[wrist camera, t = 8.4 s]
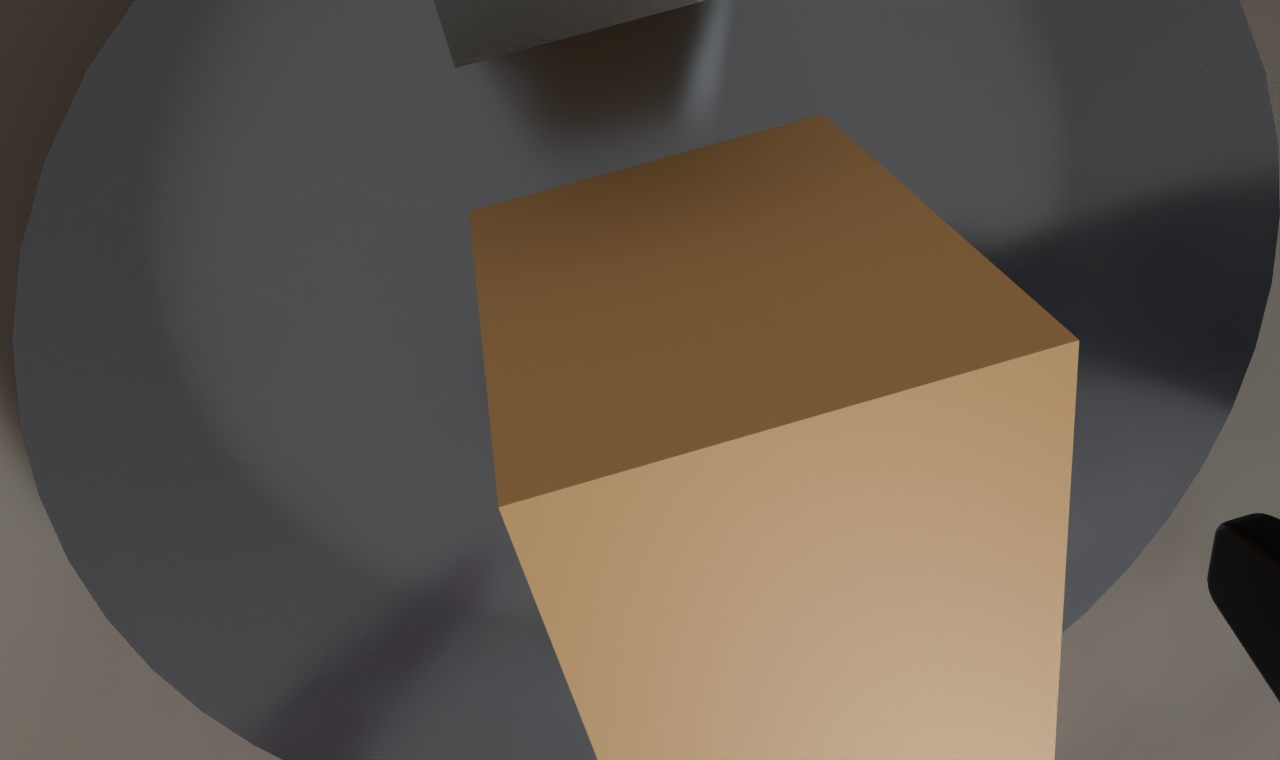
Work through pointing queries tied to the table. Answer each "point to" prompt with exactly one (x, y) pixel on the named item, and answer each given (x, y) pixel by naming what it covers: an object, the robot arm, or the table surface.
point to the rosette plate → (449, 315)
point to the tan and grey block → (779, 458)
